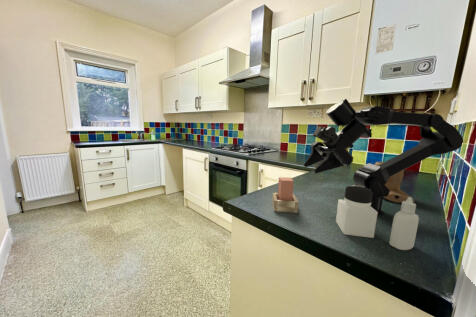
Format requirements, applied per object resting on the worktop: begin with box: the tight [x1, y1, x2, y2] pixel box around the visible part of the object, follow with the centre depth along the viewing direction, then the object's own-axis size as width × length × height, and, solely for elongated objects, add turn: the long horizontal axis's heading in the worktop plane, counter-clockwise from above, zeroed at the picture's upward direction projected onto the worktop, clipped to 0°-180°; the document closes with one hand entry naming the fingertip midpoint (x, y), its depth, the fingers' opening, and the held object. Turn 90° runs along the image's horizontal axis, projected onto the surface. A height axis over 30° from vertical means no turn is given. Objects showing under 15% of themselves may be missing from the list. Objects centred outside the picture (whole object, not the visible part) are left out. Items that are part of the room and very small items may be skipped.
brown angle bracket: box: [374, 161, 415, 204], centre depth 77 cm, size 15×12×15 cm
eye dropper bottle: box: [389, 196, 420, 251], centre depth 44 cm, size 4×6×12 cm
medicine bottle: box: [335, 184, 379, 239], centre depth 51 cm, size 7×7×12 cm
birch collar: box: [271, 192, 299, 214], centre depth 65 cm, size 8×8×4 cm
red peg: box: [277, 176, 294, 201], centre depth 64 cm, size 4×4×10 cm
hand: (309, 169), depth 63 cm, fingers open, 9 cm apart
